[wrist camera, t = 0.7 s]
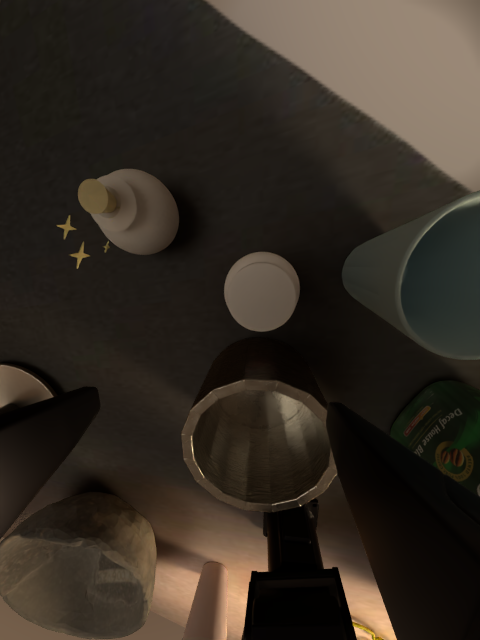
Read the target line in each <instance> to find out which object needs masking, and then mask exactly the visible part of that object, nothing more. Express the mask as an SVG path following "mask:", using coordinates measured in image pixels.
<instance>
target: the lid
mask: <svg viewBox="0 0 480 640" xmlns="http://www.w3.org/2000/svg"><path fill="white" fill-rule="evenodd" d="M55 396H58V395H57V394H56V392H55V391H54V390H53V388H52V387H51V386H50V385H49V384H48V383H47V382H46V381H45V380H44V379H42V378H41V377H40V376H38V375H37V374H35V373H34V372H32V371H30V370H28V369H26V368H24V367H21V366H18V365H14V364H8V363H0V414H3V413H6V412H9V411H12V410H15V409H18V408H21V407H24V406H27V405H30V404H33V403H36V402H40V401H43V400H46V399H49V398H52V397H55Z"/></svg>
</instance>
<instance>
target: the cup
mask: <svg viewBox="0 0 480 640" xmlns="http://www.w3.org/2000/svg"><path fill="white" fill-rule="evenodd" d="M342 280H343V285H344V287H345V289H346V290H347V291H348V293H349V294H350V295H351V296H352V297H353V298H354V299H356V300H357V301H358V302H360V303H361V304H363V305H364V306H366V307H367V308H368V309H370V310H371V311H373V312H374V313H375V314H377V315H378V316H380V317H381V318H382V319H384V320H385V321H387V322H388V323H389V324H391V325H392V326H394V327H395V328H397V329H398V330H399V331H401V332H402V333H403V334H405V335H406V336H408V337H409V338H410V339H412V340H413V341H415V342H416V343H417V344H419V345H420V346H422V347H423V348H425V349H427V350H428V351H430V352H433V353H435V354H438V355H440V356H444V357H448V358H453V359H461V360H476V359H480V191H477V192H474V193H471V194H469V195H467V196H464V197H462V198H460V199H458V200H456V201H453V202H451V203H449V204H447V205H445V206H443V207H440V208H438V209H436V210H434V211H432V212H430V213H428V214H426V215H424V216H421V217H419V218H417V219H415V220H413V221H410V222H408V223H406V224H404V225H402V226H399V227H397V228H395V229H393V230H391V231H388V232H386V233H384V234H382V235H379V236H377V237H375V238H373V239H371V240H369V241H367V242H365V243H363V244H361V245H359V246H358V247H356V248H355V249H354V250H353V251H352V252H351V253H350V255H349V256H348V257H347V258H346V260H345V262H344V266H343V269H342Z"/></svg>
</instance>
